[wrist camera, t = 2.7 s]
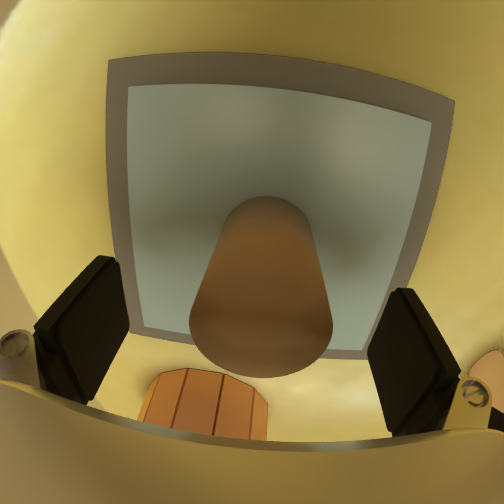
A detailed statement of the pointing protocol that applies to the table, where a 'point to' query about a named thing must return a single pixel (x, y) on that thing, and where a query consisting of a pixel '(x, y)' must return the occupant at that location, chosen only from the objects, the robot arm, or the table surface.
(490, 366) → the smoothie
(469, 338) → the table surface
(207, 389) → the bowl
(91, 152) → the table surface
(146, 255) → the cover sheet
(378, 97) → the mat
